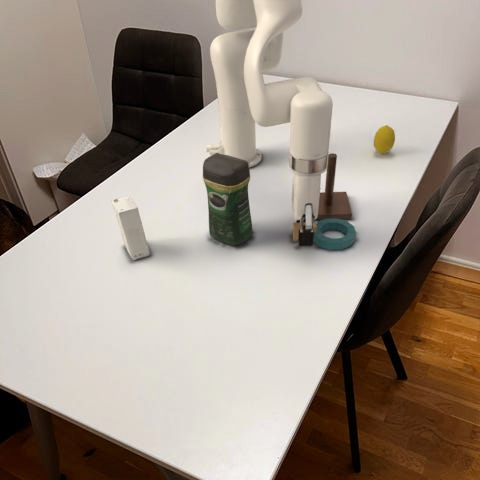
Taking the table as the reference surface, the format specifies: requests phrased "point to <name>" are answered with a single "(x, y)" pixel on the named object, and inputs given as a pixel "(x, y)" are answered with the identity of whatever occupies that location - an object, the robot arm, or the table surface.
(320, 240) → the ring
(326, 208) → the peg stand
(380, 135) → the lemon
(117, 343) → the table surface
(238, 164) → the coffee jar
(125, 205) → the cosmetic box
